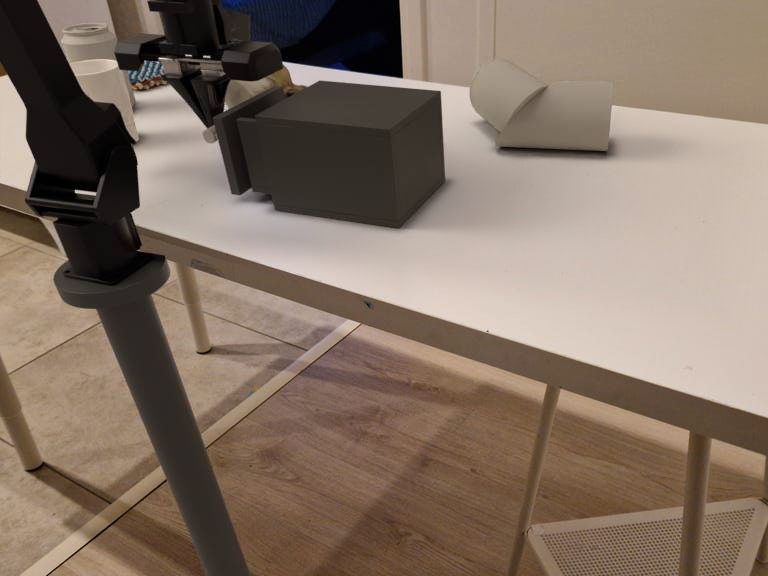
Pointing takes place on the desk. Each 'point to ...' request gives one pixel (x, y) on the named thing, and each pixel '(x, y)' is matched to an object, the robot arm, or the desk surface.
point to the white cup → (106, 87)
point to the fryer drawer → (244, 141)
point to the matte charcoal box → (354, 151)
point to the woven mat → (147, 75)
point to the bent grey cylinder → (542, 108)
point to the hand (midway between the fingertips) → (216, 133)
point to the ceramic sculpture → (259, 87)
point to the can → (92, 46)
